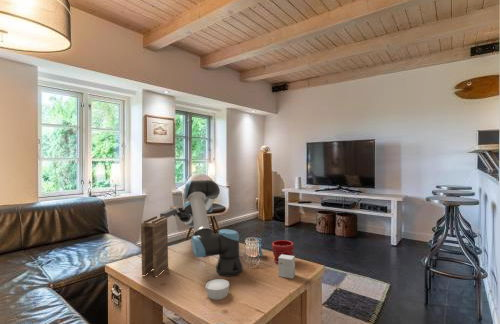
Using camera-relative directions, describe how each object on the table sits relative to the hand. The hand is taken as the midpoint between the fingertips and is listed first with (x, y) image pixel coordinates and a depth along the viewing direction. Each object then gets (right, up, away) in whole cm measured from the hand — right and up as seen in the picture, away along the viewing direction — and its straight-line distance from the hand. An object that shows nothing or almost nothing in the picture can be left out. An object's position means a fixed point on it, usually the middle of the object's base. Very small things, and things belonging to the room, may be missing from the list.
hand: (173, 207), depth 176 cm
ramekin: (+36, -34, -49) cm, 70 cm away
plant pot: (+72, -32, -11) cm, 79 cm away
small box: (+71, -33, -30) cm, 84 cm away
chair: (+55, -32, 0) cm, 64 cm away
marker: (-1, -4, -4) cm, 6 cm away
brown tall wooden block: (-3, -33, -23) cm, 41 cm away
